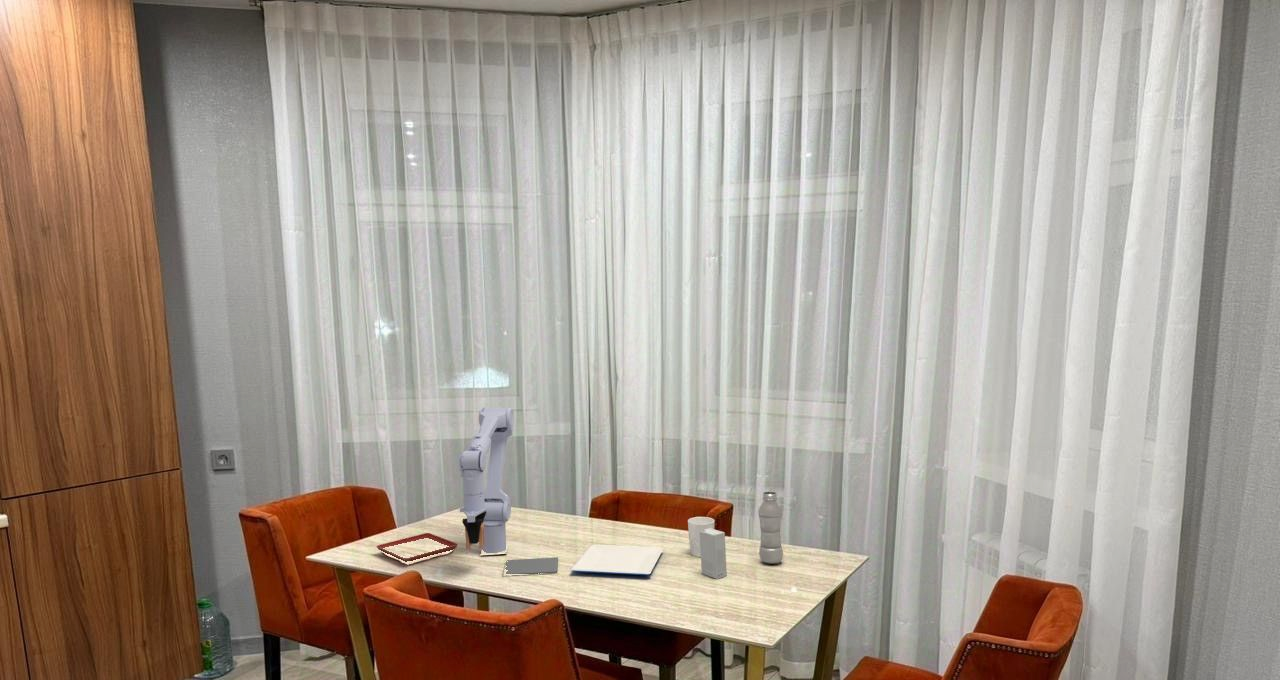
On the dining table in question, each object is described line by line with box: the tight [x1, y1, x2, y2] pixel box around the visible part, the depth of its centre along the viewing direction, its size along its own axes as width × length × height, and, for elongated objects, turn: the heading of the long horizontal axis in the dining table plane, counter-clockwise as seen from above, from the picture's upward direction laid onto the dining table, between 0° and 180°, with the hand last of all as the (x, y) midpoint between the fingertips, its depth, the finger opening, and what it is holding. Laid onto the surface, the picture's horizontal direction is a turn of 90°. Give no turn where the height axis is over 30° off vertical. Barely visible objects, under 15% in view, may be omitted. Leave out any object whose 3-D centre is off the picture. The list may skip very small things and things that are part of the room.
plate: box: [570, 543, 665, 576], centre depth 215 cm, size 22×22×2 cm
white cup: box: [687, 516, 715, 558], centre depth 222 cm, size 8×8×10 cm
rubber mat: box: [504, 556, 559, 575], centre depth 214 cm, size 12×15×1 cm
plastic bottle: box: [757, 491, 784, 565], centre depth 213 cm, size 6×7×20 cm
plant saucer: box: [376, 532, 459, 562], centre depth 228 cm, size 18×18×3 cm
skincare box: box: [700, 528, 728, 580], centre depth 204 cm, size 6×4×12 cm
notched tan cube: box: [464, 523, 485, 550], centre depth 211 cm, size 5×5×6 cm
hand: (475, 540), depth 211 cm, fingers closed on notched tan cube, 5 cm apart
